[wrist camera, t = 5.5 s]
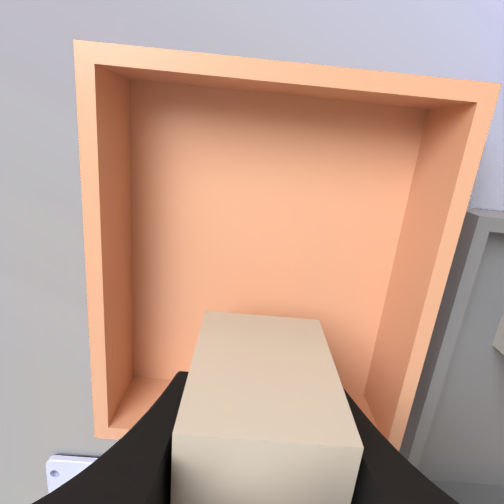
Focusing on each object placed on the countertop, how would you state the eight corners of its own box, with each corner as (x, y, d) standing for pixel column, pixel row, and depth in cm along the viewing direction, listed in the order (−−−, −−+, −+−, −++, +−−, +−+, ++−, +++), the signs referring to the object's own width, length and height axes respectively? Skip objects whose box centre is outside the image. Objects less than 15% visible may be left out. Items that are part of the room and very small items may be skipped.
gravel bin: (369, 397, 20) (396, 459, 16) (125, 378, 20) (94, 438, 16) (439, 95, 15) (501, 83, 11) (119, 63, 15) (73, 39, 11)
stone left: (303, 412, 15) (333, 575, 10) (200, 404, 15) (168, 565, 10) (319, 319, 14) (364, 447, 8) (205, 310, 14) (172, 433, 8)
